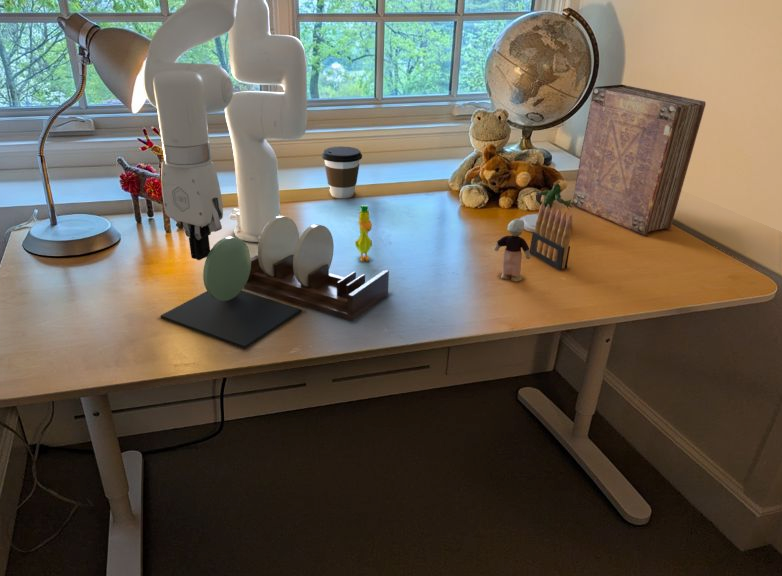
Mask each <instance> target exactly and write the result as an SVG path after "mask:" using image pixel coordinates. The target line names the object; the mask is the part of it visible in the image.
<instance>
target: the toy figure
mask: <svg viewBox="0 0 782 576" xmlns="http://www.w3.org/2000/svg"><path fill="white" fill-rule="evenodd" d="M368 208H369V205H368V204H361V205H360V209H359V214H358V225H359V226H358V227H359V232H360V236H359V237H358V239H357V240H355V241H354V245H355V248H356V249H357V250H358V251H359V253H360V257H359V260H360V262H362V263H363V262H365V261H366V262H370V256H368V252H369V251H370V249H371V247H372V246H373V241H372V239H371V238H370V237H369V235H368V233H370V231H371V230H372V227H373V223H372V221H371V220H370V209H368ZM363 254H364V255H363Z"/></svg>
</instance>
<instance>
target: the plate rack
mask: <svg viewBox="0 0 782 576" xmlns="http://www.w3.org/2000/svg"><path fill="white" fill-rule="evenodd" d="M293 257H294V255H290V256H288V257H286V258H285V259H283V260H281V261H279V262H277V263H275V264H274V276H275V277H273V276H269V275H267V274H265V273H264V272H263V270H262V269H261V267H260V265H259V261H258V254H257V255H254V256H253V257H251V270H250V274H249V278H248V280H247V283H246V285H245V286H244V288H243V289H247V290H250V291H254V292H257V293H260V294H263V295H267V296H270V297H272V298H276V299H279V300H283V301H285V302H289V303H292V304H296V305H298V306H301V307H305V308H308V309H311V310H313V311H318V312H319V313H320V312H321V313H324V314H327V315H329V316H334V317H337V318H340V319H343V320H346V321H349V322H352V323H353V322H354V321H356V320H357V319H358V318H359V317H361V316H362V315H364V314H365V313H366V312H368V311H369V310H370V309H371V308H373V307H375V306H376V304H378V303H379V302H380V301H382V300H383V299H385V298H386V297H387V296H388V295H389V280H390V279H389V278H390V277H389V276H390V271H389V270H387V269H383V270H382V271H381V272H379V273H378V274H376V275H374V277H372V278H370V279H369V280H367V281H366V274H365V273H362V274H360V275H359V276H357V271H352V272H350V273H349V274H347V275H346V276H342V275H341V276H340V275H338V274H334V273H332V272H330V268H329V264H326V265H324V266H322V267H320V268H319V269H317V270H315V271H314V272H312V273H310V274H309V287H306V286H303V285H301V284H300V283H299V282H298V281H297V279H296V277H295V275H294V270H293Z"/></svg>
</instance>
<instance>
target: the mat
mask: <svg viewBox="0 0 782 576" xmlns="http://www.w3.org/2000/svg"><path fill="white" fill-rule="evenodd" d="M302 311H303V310H302V308H299V307H295V306H293V305H289V304H286V303H283V302H280V301H277V300H273V299H271V298H267V297H264V296H261V295H258V294H255V293H251V292H248V291H245V290H242V291H241V292H240V293H239V294H238V295H237V296H236V297H234V298H233V299H230V300H227V301H220V300H218V299H215V298H213V297H212V296H210V295H209V293H208V292H207V290H205V292H202V293H200V294H199V295H197V296H195V297H193V298H191V299H189V300H187V301H185V302H183V303H181V304H180V305H178V306H175V307H174V308H172V309H170V310H168V311H166V312H165V313H162V314H161V315H160V319H162V320H164V321H168V322H170V323H173V324H175V325H178V326H181V327H184V328H186V329H190V330H192V331H195V332H196V333H197V332H198V333H200V334H203V335H206V336H208V337H211V338H214V339H217V340H219V341H222V342H225V343H228V344H230V345H232V346H235V347H239V348H241V349H244V350H246V349H248V348H249V347H251V346H252V345H253V344H255V343H257V342H258V341H260V340H261V339H263V338H264V337H266V336H267V335H269V334H270V333H271V332H273V331H275V330H276V329H278V328H280V327H281V326H282V325H284V324H286V323H287V322H288V321H290V320H292V319H293V318H295V317H296V316H298V315H300V314H301V313H302Z"/></svg>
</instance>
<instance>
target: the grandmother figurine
mask: <svg viewBox="0 0 782 576" xmlns="http://www.w3.org/2000/svg"><path fill="white" fill-rule="evenodd" d="M506 230H507V231H508V232H509V233H510V235H505V236H502V237H500V238H499V239H498V240H497V241H496V244H495V246H493V251H495V252H498V251H499V250H500V248H502V247H505V249H504V253H503V258H502V266H501V267H502V268H501V275H500V278H501V279H502V280H509V279H510V278H511V279H510V280H511V281H512V282H514V283H515V282H516V283H517V282H520V281H522V280H523V279H524V278H523V276H522V275H521V271H522V270H521V269H522V259H523V258H522V255H523V254H524V255H525V259H526V260H530V259H531V257H532V254H530V251H529V250H530V246H529V245H528V242H527V240H525V239H524V238H523V237H521V235H522V234H523V232H524V230H525V229H524V221H523V220H521V219H520V218H514V219H512V220H511V221H510V222H509V223H508V224H507V227H506ZM522 251H523V252H524V253H522Z"/></svg>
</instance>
